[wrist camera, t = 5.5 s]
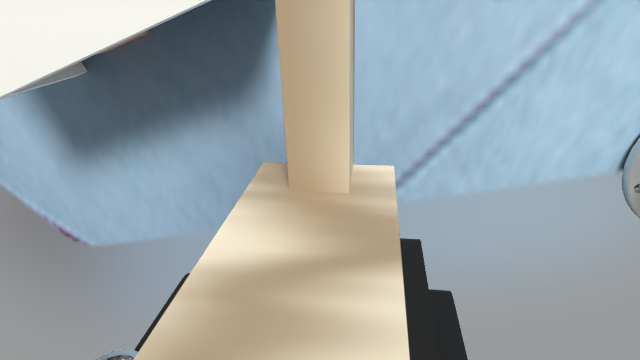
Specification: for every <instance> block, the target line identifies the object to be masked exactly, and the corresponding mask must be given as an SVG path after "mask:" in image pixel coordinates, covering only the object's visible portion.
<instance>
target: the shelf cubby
mask: <svg viewBox="0 0 640 360" xmlns="http://www.w3.org/2000/svg"><path fill="white" fill-rule="evenodd" d="M209 1H211V0H0V99H3V98H6V97H9V96H13V95H16V94H19V93H23V92H26V91H30V90H33V89H36V88H40V87H43V86H46V85H50V84H53V83H56V82H60V81H63V80H66V79H70V78H73V77H77V76H79V75H81V74H83V73H86V72H88V71H87V70H86V68H85V66H84V65H83V63H82V61H83V60H85V59H87V58H89V57H91V56H93V55H95V54H98V53H100V52H102V51H104V50H106V49H108V48H110V47H113V46H115V45H117V44H119V43H121V42H123V41H125V40H128V39H130V38H132V37H134V36H136V35H138V34H140V33H143V32H145V31H147V30H149V29H151V28H153V27H155V26H158V25H160V24H162V23H164V22H166V21H168V20H170V19H173V18H175V17H177V16H179V15H181V14H183V13H185V12H188V11H190V10H192V9H194V8H196V7H198V6H200V5H203V4H205V3H207V2H209Z"/></svg>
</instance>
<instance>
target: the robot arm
mask: <svg viewBox="0 0 640 360" xmlns="http://www.w3.org/2000/svg"><path fill="white" fill-rule="evenodd" d="M622 190H623V193H624V197H625V200H626V202H627V204H628V205H629V207H630V208H631V210H632V211H633V212H634V213H635V214H636V215H637V216H638V217H639V218H640V138H639V139H638V140H637V142H636V143H635V145H634V146H633V148H632V149H631V151H630V154H629V156H628V158H627V160H626V162H625V166H624V170H623V175H622ZM400 247H401V259H402V271H403V283H404V295H405V308H406V320H407V332H408V344H409V356H410V360H468V359H467V355H466V351H465V346H464V342H463V338H462V334H461V329H460V325H459V321H458V317H457V312H456V308H455V304H454V300H453V296H452V293H451V292H450V291H443V290H429V289H428V283H427V277H426V271H425V265H424V258H423V252H422V246H421V241H420V239H401V238H400ZM189 275H190V273H188V274H186V275H185V276H184V277H183V278H182V280H181V281H180V283H179V285H178V286H177V288H176V289H175V291H174V292H173V293H172V295H171V296H170V298H169V299H168V301H167V302H166V304H165V305H164V307H163V308H162V310H161V311H160V313H159V314H158V316H157V317H156V319H155V320H154V322H153V323H152V325H151V326H150V327H149V329H148V330H147V332H146V333H145V335H144V337H143V338H142V339H141V341H140V343H139V344H138V345H137V347H136V348H135V350H130V349H122V350H116V351H112V352H110V353H107V354H105V355H103V356H101V357H99V358H97V359H96V360H134V358H135V357H136V355H137V354H138V352H139V351H140V349H141V348H142V346H143V345H144V343H145V342H146V340H147V338H148V337H149V335H150V334H151V332H152V331H153V329H154V328H155V326H156V325H157V323H158V322H159V320H160V319H161V317H162V316H163V314H164V313H165V311H166V310H167V308H168V307H169V305H170V304H171V302H172V301H173V299H174V298H175V296H176V294H177V293H178V291H179V290H180V288H181V287H182V285H183V284H184V282H185V281H186V279H187V278H188V276H189Z"/></svg>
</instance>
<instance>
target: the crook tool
mask: <svg viewBox="0 0 640 360" xmlns="http://www.w3.org/2000/svg"><path fill="white" fill-rule="evenodd" d="M275 6H276V19H277V32H278V46H279V59H280V73H281V86H282V99H283V113H284V126H285V139H286V153H287V163H269V162H263V164H262V166H261V167H260V169H259V170H258V172H257V173H256V175H255V176H254V178H253V179H252V181H251V182H250V184H249V185H248V187H247V188H246V190H245V191H244V193H243V194H242V196H241V197H240V199H239V200H238V202H237V203H236V205H235V206H234V208H233V210H232V211H231V213H230V214H229V216H228V217H227V219H226V220H225V222H224V223H223V225H222V226H221V228H220V229H219V231H218V232H217V234H216V235H215V237H214V238H213V240H212V241H211V243H210V244H209V246H208V247H207V249H206V251H205V252H204V254H203V255H202V257H201V258H200V260H199V261H198V263H197V264H196V266H195V267H194V269H193V270H192V272H191V273H190V275H189V276H188V278H187V279H186V281H185V282H184V284H183V285H182V287H181V288H180V290H179V291H178V293H177V294H176V296H175V298H174V299H173V301H172V302H171V304H170V305H169V307H168V308H167V310H166V311H165V313H164V314H163V316H162V317H161V319H160V320H159V322H158V323H157V325H156V326H155V328H154V329H153V331H152V332H151V334H150V335H149V337H148V338H147V340H146V342H145V343H144V345H143V346H142V348H141V349H140V351H139V352H138V354H137V355H136V357H135V358H134V360H410V356H409V344H408V332H407V320H406V308H405V295H404V283H403V271H402V259H401V247H400V234H399V222H398V210H397V198H396V186H395V173H394V166H377V165H354V51H355V0H275Z"/></svg>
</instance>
